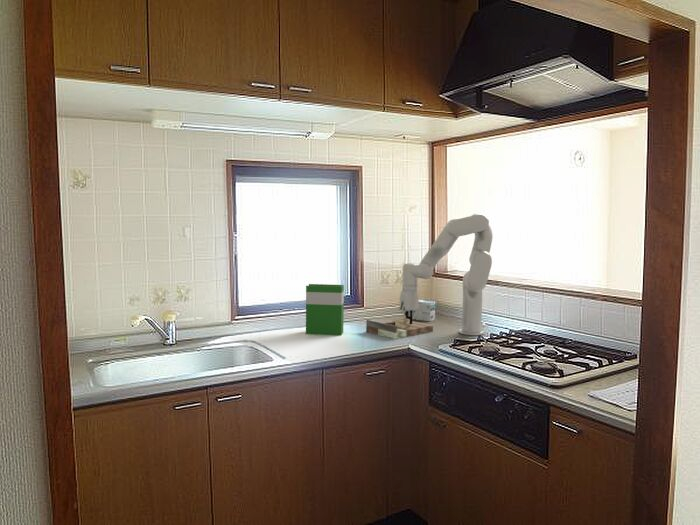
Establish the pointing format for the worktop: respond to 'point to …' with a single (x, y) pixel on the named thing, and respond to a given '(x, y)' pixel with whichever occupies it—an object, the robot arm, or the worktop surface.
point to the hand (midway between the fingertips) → (408, 323)
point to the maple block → (402, 322)
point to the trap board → (396, 329)
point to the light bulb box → (425, 311)
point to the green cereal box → (324, 309)
